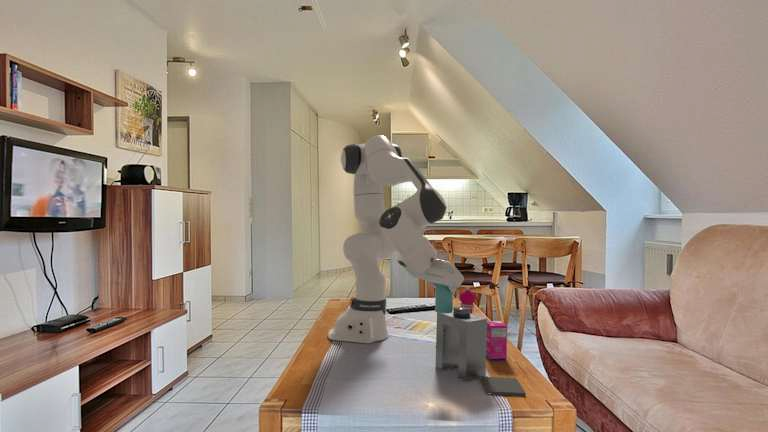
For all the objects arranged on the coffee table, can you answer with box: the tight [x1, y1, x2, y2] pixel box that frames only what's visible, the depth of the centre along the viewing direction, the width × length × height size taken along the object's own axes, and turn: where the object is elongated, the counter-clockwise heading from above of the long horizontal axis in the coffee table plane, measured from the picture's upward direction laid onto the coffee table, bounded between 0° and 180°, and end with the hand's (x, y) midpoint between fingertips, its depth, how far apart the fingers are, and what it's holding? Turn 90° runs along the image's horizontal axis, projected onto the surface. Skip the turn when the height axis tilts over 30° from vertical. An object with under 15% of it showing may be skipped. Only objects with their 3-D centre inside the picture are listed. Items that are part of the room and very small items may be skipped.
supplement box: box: [486, 320, 508, 361], centre depth 145 cm, size 6×6×12 cm
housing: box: [435, 306, 488, 382], centre depth 131 cm, size 8×13×19 cm, turn 34°
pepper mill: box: [458, 285, 477, 314], centre depth 163 cm, size 7×7×20 cm
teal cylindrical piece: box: [434, 283, 454, 313], centre depth 127 cm, size 5×5×12 cm
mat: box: [480, 376, 526, 397], centre depth 121 cm, size 10×10×1 cm
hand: (446, 289), depth 127 cm, fingers closed on teal cylindrical piece, 5 cm apart
